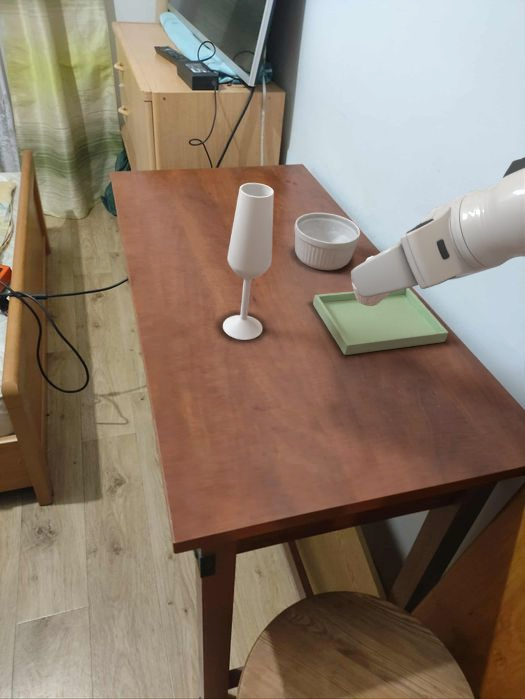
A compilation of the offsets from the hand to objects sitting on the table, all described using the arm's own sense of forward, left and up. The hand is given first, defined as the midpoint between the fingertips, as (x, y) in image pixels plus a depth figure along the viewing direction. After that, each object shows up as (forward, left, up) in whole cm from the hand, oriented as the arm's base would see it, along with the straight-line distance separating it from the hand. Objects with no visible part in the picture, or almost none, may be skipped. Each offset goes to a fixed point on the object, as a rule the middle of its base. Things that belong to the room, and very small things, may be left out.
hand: (371, 271), depth 70 cm
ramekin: (+16, -28, -17) cm, 37 cm away
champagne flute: (+18, +2, -17) cm, 25 cm away
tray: (-1, -13, -17) cm, 22 cm away
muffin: (-1, 0, -5) cm, 5 cm away
